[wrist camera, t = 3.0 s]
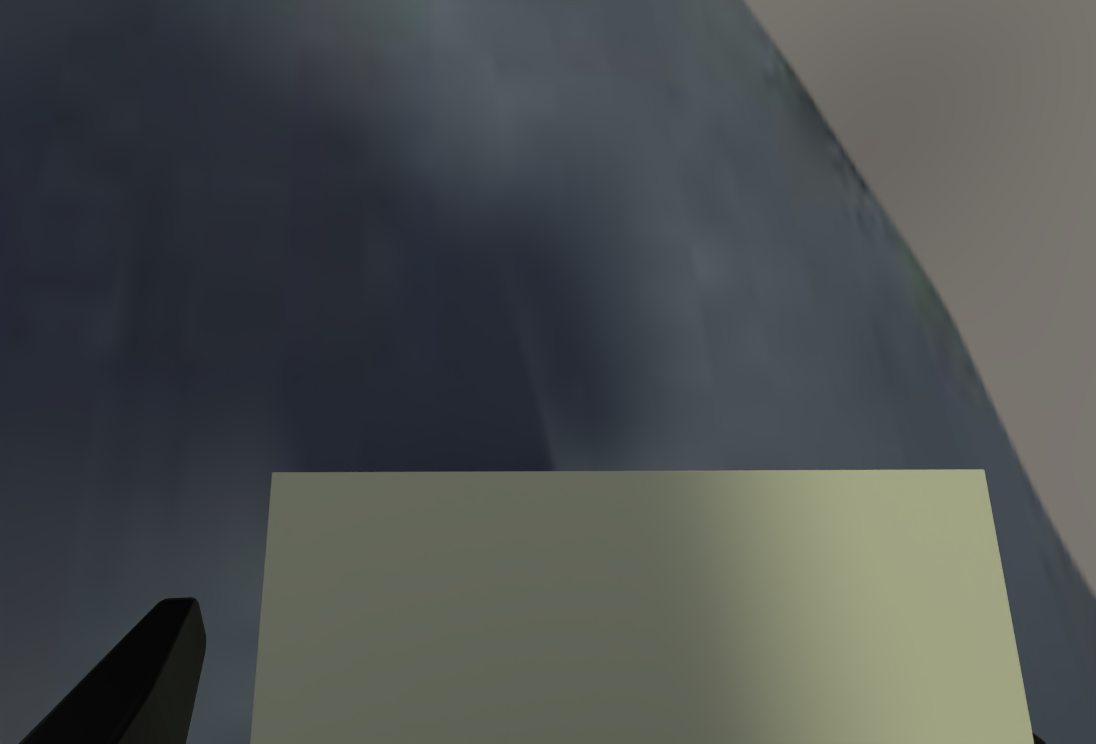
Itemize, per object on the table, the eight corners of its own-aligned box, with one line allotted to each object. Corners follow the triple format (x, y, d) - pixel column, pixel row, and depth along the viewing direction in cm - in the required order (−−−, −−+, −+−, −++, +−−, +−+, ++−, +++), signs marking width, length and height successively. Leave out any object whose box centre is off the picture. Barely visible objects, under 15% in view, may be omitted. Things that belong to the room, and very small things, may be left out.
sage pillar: (574, 716, 16) (1146, 1361, 4) (368, 734, 15) (169, 1737, 3) (568, 512, 17) (984, 469, 5) (376, 516, 16) (271, 472, 4)
